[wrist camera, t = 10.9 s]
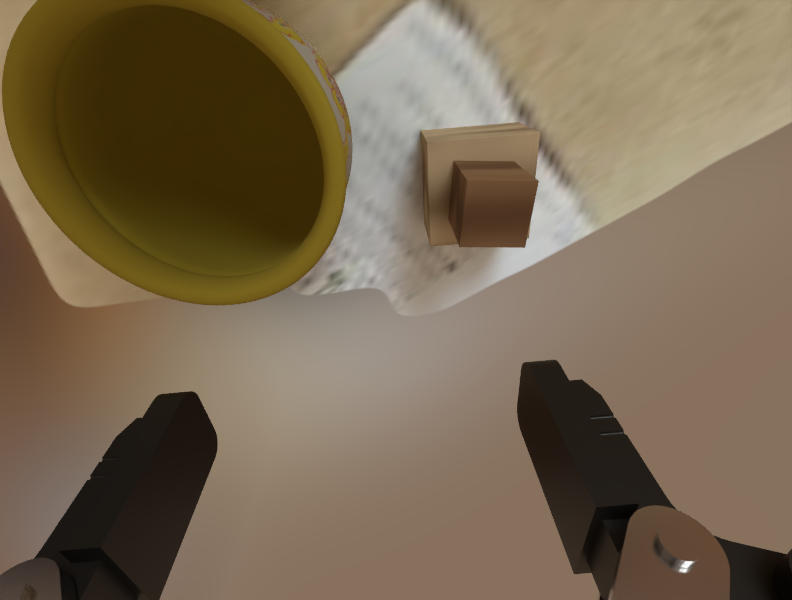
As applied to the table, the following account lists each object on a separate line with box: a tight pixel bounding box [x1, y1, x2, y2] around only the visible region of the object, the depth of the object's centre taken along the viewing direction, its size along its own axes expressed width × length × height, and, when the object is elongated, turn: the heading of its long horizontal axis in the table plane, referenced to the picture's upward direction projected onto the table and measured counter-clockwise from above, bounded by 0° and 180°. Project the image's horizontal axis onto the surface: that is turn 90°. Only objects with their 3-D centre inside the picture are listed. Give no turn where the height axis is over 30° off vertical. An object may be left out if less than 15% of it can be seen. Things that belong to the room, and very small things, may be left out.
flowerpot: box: [2, 0, 352, 305], centre depth 29 cm, size 18×18×16 cm
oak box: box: [421, 122, 540, 246], centre depth 37 cm, size 9×9×6 cm
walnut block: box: [448, 161, 539, 247], centre depth 32 cm, size 5×5×6 cm
